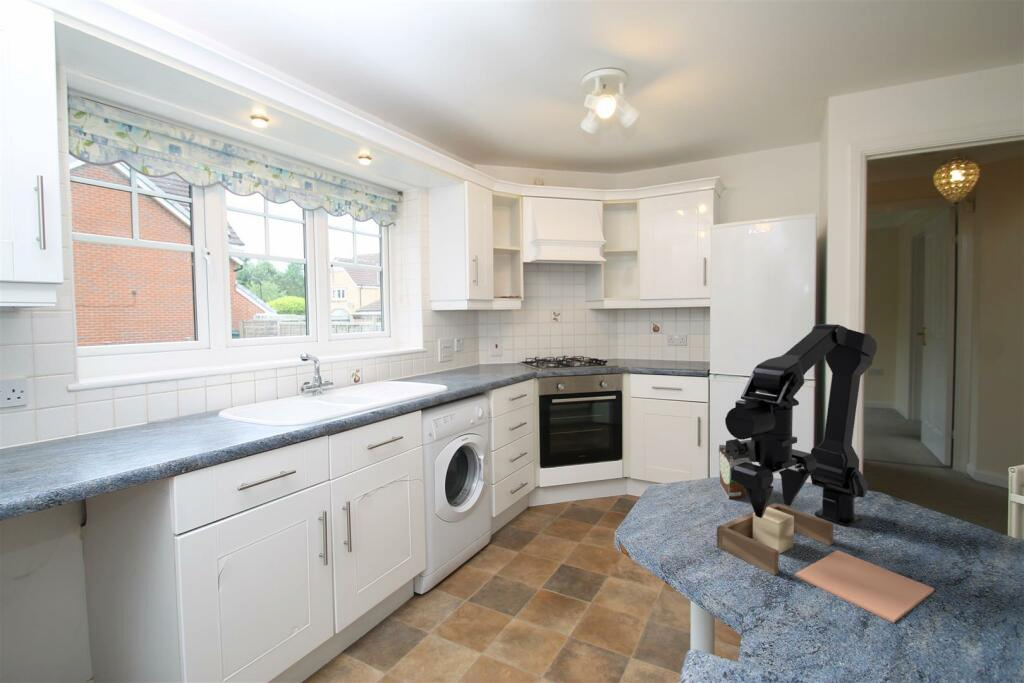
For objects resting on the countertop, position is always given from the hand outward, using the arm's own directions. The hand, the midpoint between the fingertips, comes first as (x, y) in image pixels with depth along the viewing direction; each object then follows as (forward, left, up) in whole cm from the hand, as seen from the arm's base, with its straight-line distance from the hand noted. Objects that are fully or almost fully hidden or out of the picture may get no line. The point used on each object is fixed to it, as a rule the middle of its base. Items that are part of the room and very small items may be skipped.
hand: (773, 510), depth 90 cm
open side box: (0, 0, -7) cm, 7 cm away
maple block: (0, 0, -7) cm, 7 cm away
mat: (0, +15, -7) cm, 16 cm away
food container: (-17, -19, -7) cm, 26 cm away
